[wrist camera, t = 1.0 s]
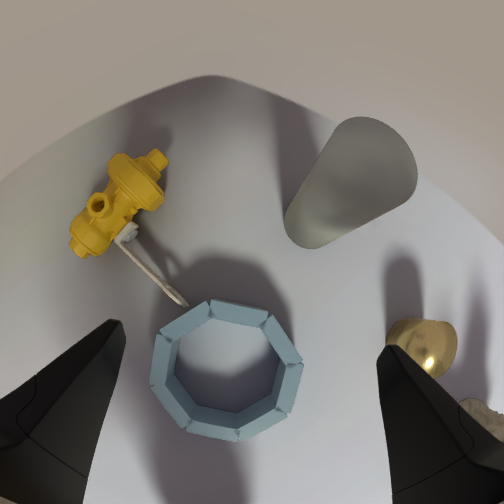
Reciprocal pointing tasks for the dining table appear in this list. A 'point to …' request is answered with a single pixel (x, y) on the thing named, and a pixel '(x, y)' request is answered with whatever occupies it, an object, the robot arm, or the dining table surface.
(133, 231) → the pressure relief valve
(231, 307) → the collar
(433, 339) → the short brass cylinder
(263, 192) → the dining table surface
